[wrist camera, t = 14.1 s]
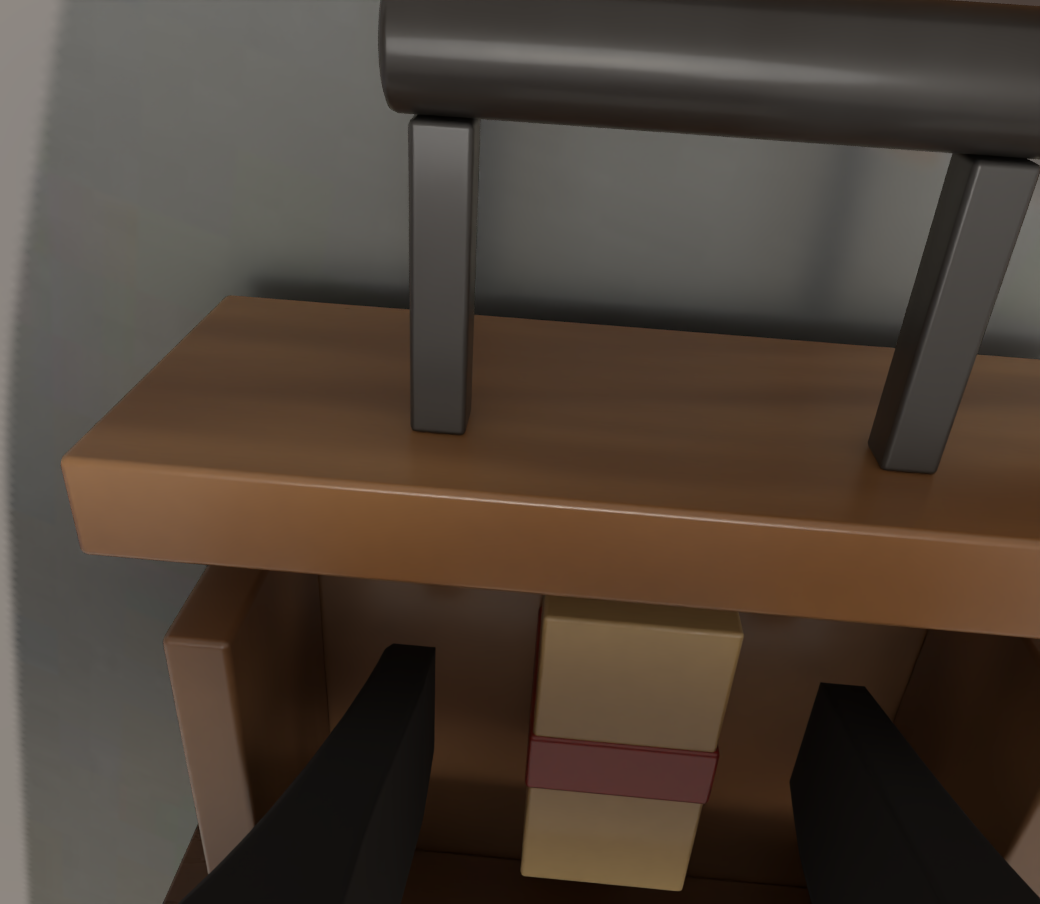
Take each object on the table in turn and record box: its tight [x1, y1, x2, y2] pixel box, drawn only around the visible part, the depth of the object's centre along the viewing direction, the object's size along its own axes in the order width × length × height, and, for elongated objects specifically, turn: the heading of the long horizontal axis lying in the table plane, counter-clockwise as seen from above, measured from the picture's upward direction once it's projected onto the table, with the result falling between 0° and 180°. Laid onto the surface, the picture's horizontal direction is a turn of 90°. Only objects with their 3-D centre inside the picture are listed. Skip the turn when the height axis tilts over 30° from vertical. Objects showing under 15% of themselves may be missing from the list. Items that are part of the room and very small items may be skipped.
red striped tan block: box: [520, 595, 744, 891], centre depth 13 cm, size 5×2×3 cm, turn 177°
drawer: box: [61, 0, 1040, 904], centre depth 12 cm, size 16×12×5 cm
